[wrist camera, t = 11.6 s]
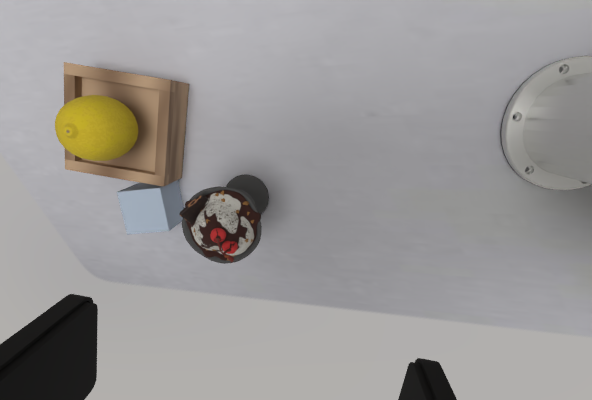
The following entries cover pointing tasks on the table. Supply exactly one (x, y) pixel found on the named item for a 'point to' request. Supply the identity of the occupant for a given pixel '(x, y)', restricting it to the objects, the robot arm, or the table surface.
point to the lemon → (96, 128)
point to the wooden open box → (150, 118)
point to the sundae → (226, 219)
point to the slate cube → (151, 207)
